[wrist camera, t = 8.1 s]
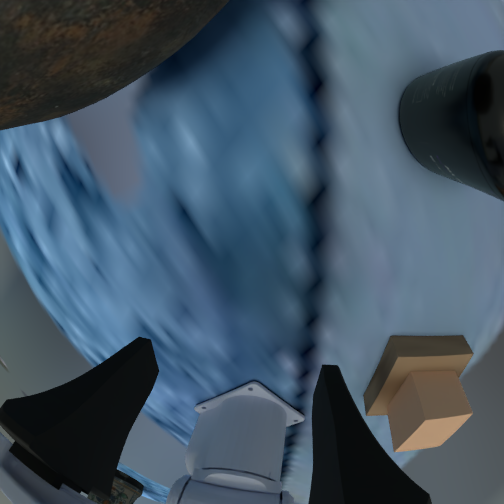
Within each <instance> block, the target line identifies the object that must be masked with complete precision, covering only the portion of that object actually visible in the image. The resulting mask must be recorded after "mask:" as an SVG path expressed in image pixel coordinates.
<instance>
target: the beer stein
mask: <svg viewBox="0 0 504 504" xmlns="http://www.w3.org/2000/svg"><path fill="white" fill-rule="evenodd" d="M142 492H143V485H142V484H141V483H140V482H138V481H137V480H135V479H134V478H132V477H130V476H128V475H127V474H125V473H123V472H121V471H119V470H117V469H116V473H115V477H114V481H113V486H112V490H111V496H110V498H109V499H106V500H103V499H101V498H99V497H97V496H95V495H93V494H91V493H89V494H88V497H87V498H88V499H90V500H92V501H94V502H95V503H97V504H133V503H134V502H135V500H136V499H137V498H138V497H140V496H141V495H142Z"/></svg>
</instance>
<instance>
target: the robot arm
mask: <svg viewBox="0 0 504 504" xmlns="http://www.w3.org/2000/svg"><path fill="white" fill-rule="evenodd" d="M158 373H159V369H158V365H157V361H156V358H155V354H154V350H153V346H152V342H151V339H146V338H142V337H138V338H136V339H135V340H134V341H132V342H131V343H129V344H128V345H127V346H125V347H124V348H122V349H121V350H120V351H118V352H117V353H115V354H114V355H112V356H111V357H110V358H108V359H107V360H105V361H104V362H102V363H101V364H99V365H98V366H96V367H94V368H93V369H91V370H90V371H88V372H86V373H85V374H83V375H81V376H79V377H78V378H76V379H74V380H72V381H70V382H68V383H65V384H63V385H61V386H58V387H55V388H53V389H50V390H48V391H45V392H42V393H38V394H35V395H31V396H26V397H21V398H15V399H8V400H6V401H5V403H4V404H3V405H2V407H1V408H0V425H1V426H2V428H3V429H4V430H5V431H6V432H7V433H8V434H9V435H10V436H11V437H12V438H13V439H14V440H15V442H14V443H13V444H12V443H11V442H10V441H9V440H8V439H6V437H5V436H4V435H2V434H1V433H0V490H1V491H2V492H3V493H4V495H5V496H6V497H7V498H8V499H9V500H10V501H11V502H12V503H13V504H97V503H95V502H94V501H92V500H90V499H88V498H86V497H85V496H83V495H81V494H80V493H81V491H82V492H84V493H86V494H87V495H88V494H89V493H91V494H93V495H95V496H97V497H99V498H101V499H103V500H106V499H109V498H110V496H111V490H112V486H113V481H114V477H115V473H116V469H117V466H118V462H119V459H120V456H121V453H122V450H123V447H124V445H125V442H126V439H127V437H128V434H129V432H130V430H131V428H132V426H133V424H134V422H135V420H136V418H137V416H138V414H139V413H140V411H141V409H142V407H143V406H144V404H145V402H146V400H147V398H148V396H149V395H150V393H151V391H152V389H153V386H154V384H155V381H156V378H157V376H158ZM194 409H195V411H197V412H198V413H200V415H199V418H198V420H197V423H196V426H195V429H194V431H193V434H192V437H191V439H190V442H189V445H188V448H187V450H186V455H185V462H186V467H187V470H188V472H189V473H190V475H184V476H183V477H181V478H179V479H178V480H177V481H176V482H175V483H174V484H173V486H172V488H171V490H170V492H169V494H168V497H167V500H166V504H294V498H293V497H292V496H291V495H290V494H289V492H288V491H283V490H282V491H281V487H282V482H279V481H280V474H281V467H282V459H283V451H284V442H285V433H286V427H288V426H291V425H293V424H296V423H299V422H302V421H304V420H305V416H304V415H302V414H301V413H299V412H298V411H296V410H295V409H294V408H292V407H291V406H289V405H288V404H287V403H285V402H284V401H282V400H281V399H280V398H278V397H277V396H276V395H274V394H273V393H272V392H270V391H269V390H268V389H266V388H265V387H264V386H262V385H261V384H260V383H258V382H255V381H253V382H250V383H248V384H246V385H244V386H241V387H239V388H237V389H235V390H232V391H230V392H228V393H225V394H223V395H221V396H218V397H216V398H213V399H211V400H208V401H206V402H203V403H201V404H198V405H196V406H195V408H194ZM312 436H313V473H312V482H311V490H310V498H309V504H432V502H431V499H430V495H429V494H428V493H427V492H426V491H424V490H423V489H422V488H421V487H419V486H418V485H417V484H416V483H415V482H414V481H412V480H411V479H410V478H409V477H408V476H407V475H406V474H405V473H404V472H403V471H402V470H401V469H400V468H399V467H398V465H397V464H396V463H395V462H394V461H393V460H392V459H391V458H390V457H389V455H388V454H387V453H386V452H385V450H384V449H383V448H382V447H381V445H380V444H379V442H378V441H377V440H376V438H375V437H374V435H373V434H372V432H371V431H370V429H369V428H368V426H367V424H366V423H365V421H364V419H363V418H362V416H361V414H360V412H359V410H358V408H357V406H356V404H355V402H354V401H353V399H352V397H351V394H350V392H349V390H348V388H347V386H346V383H345V381H344V379H343V376H342V374H341V371H340V368H339V367H338V366H337V365H322V368H321V371H320V375H319V378H318V381H317V385H316V388H315V391H314V394H313V406H312Z"/></svg>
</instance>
